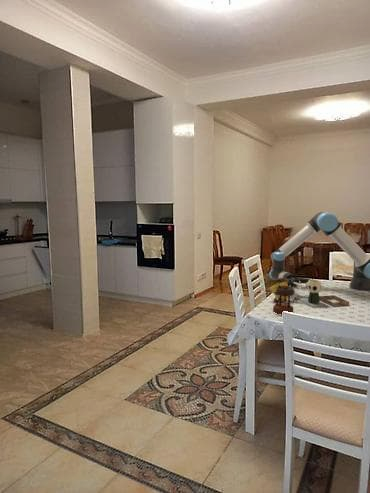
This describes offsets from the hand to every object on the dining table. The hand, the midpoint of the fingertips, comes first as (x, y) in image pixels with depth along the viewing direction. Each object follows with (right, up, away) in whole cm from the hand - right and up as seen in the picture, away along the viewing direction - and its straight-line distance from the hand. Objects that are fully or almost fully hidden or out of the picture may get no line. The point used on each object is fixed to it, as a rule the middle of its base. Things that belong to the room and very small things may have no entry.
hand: (310, 285), depth 207 cm
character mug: (+1, -10, -1) cm, 10 cm away
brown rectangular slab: (+14, -10, +1) cm, 17 cm away
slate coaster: (+1, -10, -2) cm, 10 cm away
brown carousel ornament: (-15, -8, +1) cm, 17 cm away
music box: (-21, -13, -19) cm, 31 cm away
